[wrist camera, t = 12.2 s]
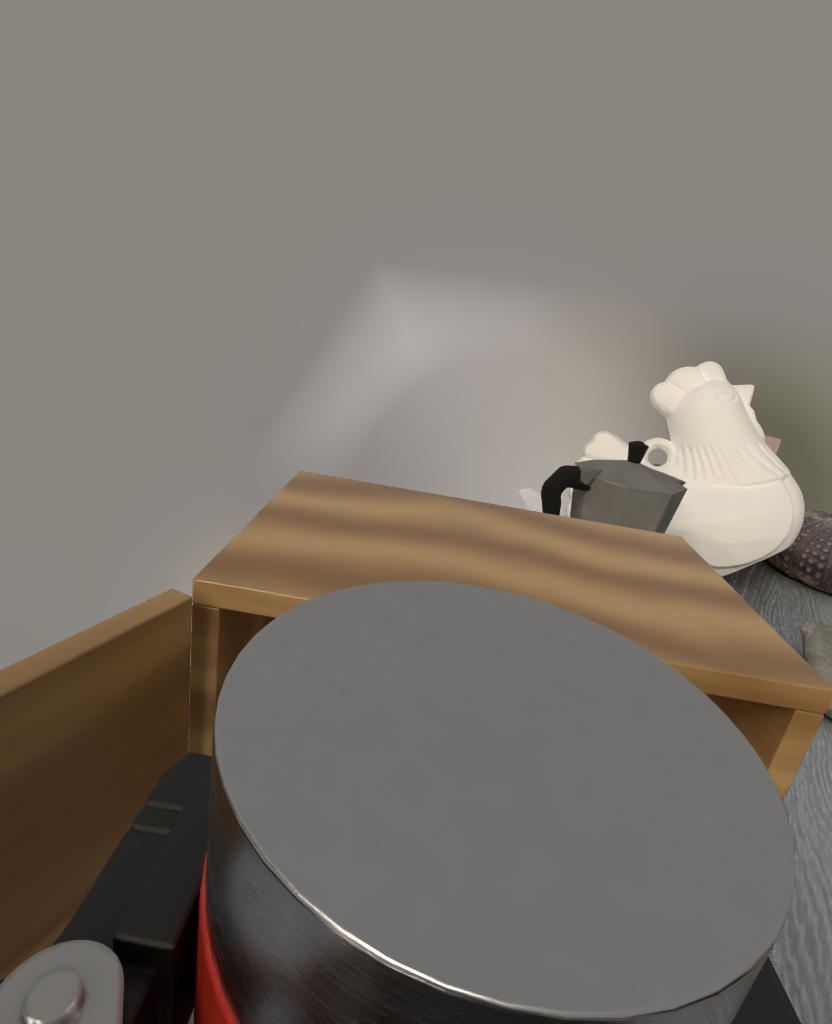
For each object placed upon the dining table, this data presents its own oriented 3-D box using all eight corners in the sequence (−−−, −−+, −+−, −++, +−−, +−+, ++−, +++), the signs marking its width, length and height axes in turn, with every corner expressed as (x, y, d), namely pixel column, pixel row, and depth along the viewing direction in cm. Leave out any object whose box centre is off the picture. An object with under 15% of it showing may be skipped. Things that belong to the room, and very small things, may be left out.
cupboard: (686, 998, 24) (837, 691, 19) (183, 906, 25) (192, 578, 19) (605, 757, 38) (681, 536, 32) (278, 699, 38) (299, 470, 32)
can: (116, 1166, 9) (101, 656, 6) (383, 923, 14) (459, 550, 10) (355, 1803, 6) (652, 1380, 2) (616, 1194, 10) (851, 746, 7)
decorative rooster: (812, 536, 71) (732, 356, 74) (841, 550, 57) (741, 327, 60) (615, 594, 82) (552, 435, 85) (598, 618, 68) (523, 426, 70)
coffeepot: (604, 595, 61) (654, 432, 55) (672, 645, 53) (739, 460, 47) (482, 606, 55) (523, 421, 48) (539, 664, 47) (596, 453, 41)
